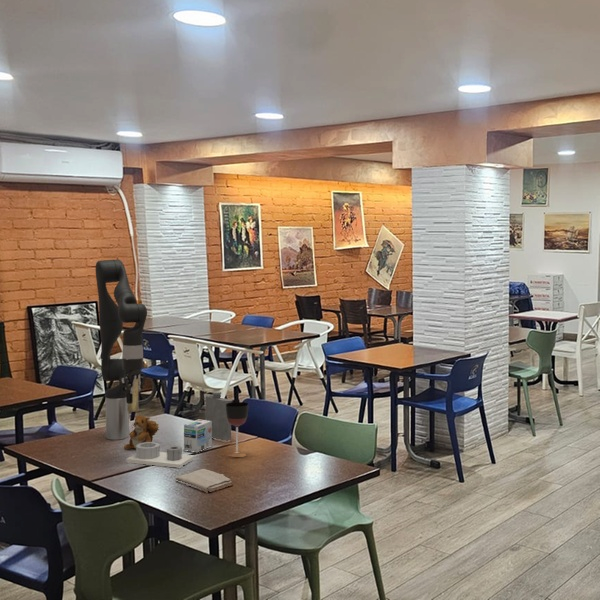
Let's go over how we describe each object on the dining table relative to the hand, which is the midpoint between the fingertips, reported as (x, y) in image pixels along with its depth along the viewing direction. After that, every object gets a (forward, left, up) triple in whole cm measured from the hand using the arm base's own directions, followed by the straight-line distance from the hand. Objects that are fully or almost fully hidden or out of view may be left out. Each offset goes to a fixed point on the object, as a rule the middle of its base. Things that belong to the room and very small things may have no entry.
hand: (132, 402), depth 259 cm
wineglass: (-17, +35, -22) cm, 45 cm away
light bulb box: (-20, +17, -22) cm, 34 cm away
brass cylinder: (0, 0, -3) cm, 3 cm away
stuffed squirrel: (-16, -6, -22) cm, 28 cm away
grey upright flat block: (-37, +18, -22) cm, 46 cm away
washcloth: (+17, +37, -23) cm, 47 cm away
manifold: (-1, +11, -22) cm, 24 cm away
